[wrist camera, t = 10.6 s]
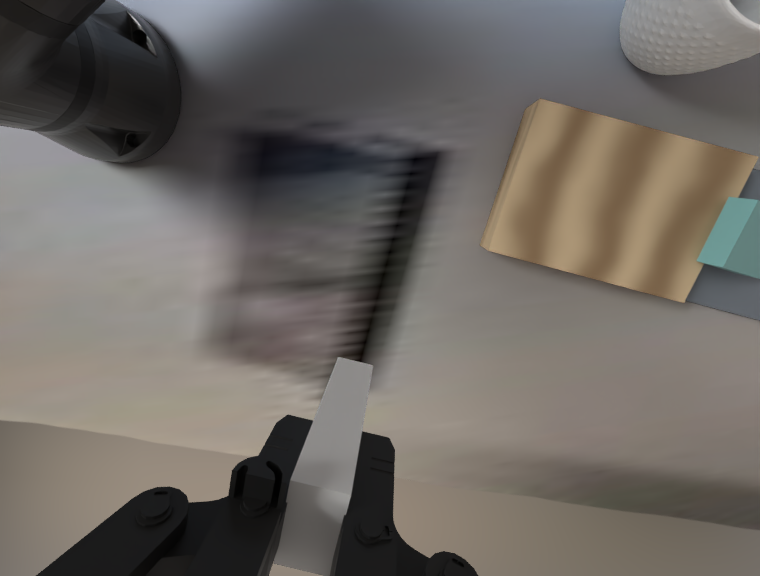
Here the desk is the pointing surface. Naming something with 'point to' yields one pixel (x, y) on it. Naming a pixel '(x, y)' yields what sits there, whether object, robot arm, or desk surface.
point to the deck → (611, 199)
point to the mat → (730, 277)
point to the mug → (689, 34)
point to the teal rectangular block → (735, 238)
